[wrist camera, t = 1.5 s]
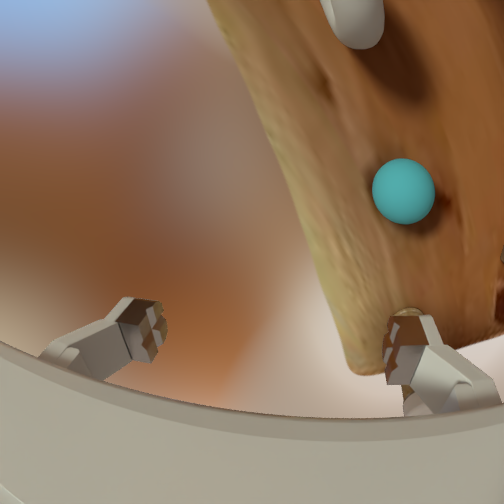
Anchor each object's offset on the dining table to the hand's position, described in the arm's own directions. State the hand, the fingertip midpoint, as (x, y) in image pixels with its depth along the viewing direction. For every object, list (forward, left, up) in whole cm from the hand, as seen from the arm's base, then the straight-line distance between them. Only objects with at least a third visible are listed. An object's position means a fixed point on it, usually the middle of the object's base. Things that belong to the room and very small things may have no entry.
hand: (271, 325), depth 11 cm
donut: (-16, +4, -20) cm, 26 cm away
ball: (0, +9, -17) cm, 19 cm away
